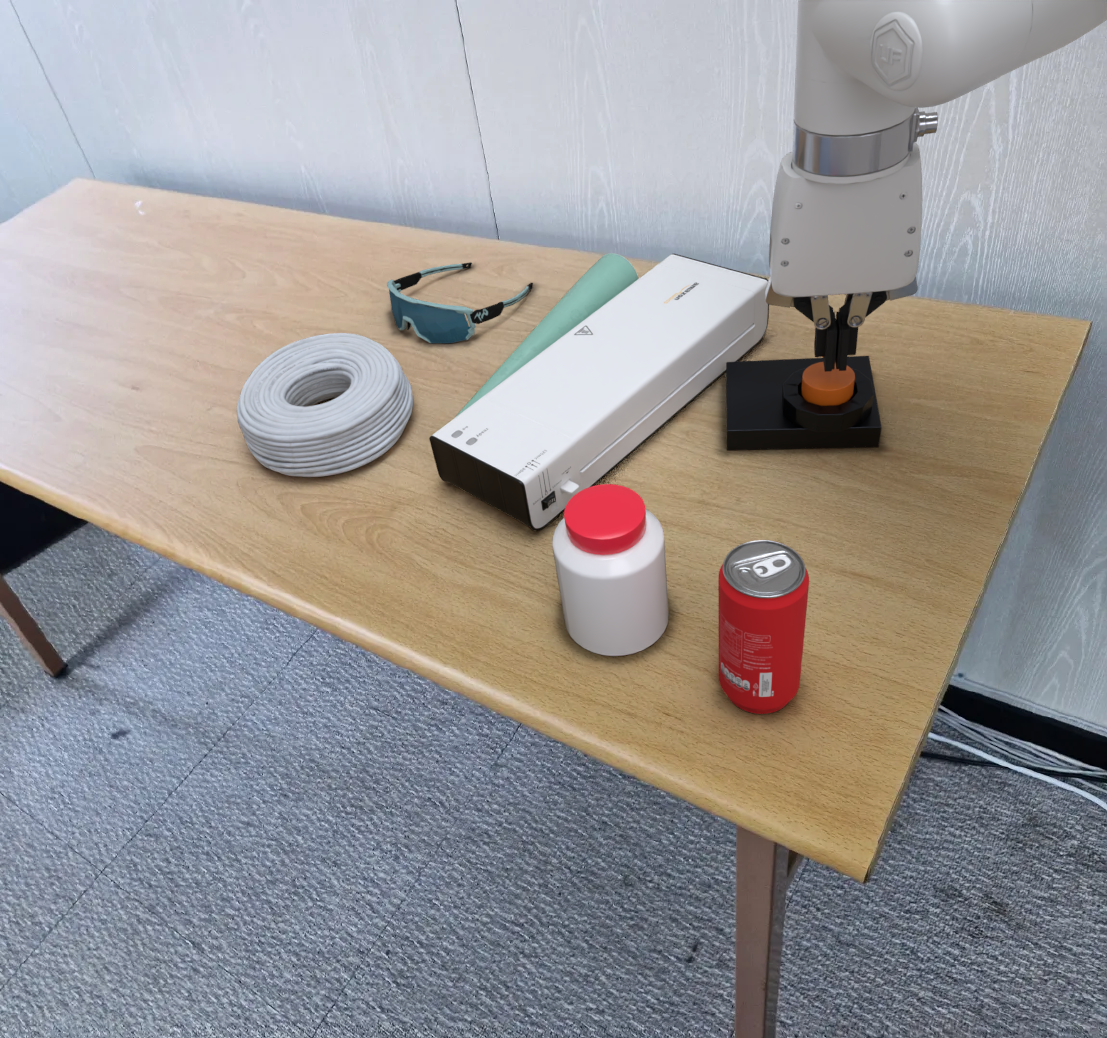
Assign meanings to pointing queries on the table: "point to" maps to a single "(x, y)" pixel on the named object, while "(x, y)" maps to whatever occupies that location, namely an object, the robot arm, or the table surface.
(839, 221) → the robot arm
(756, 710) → the beverage can
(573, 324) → the long green cone
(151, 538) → the table surface
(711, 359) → the laminator
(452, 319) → the sunglasses
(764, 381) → the black rectangular base
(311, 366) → the cable
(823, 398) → the button
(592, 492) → the pill bottle
